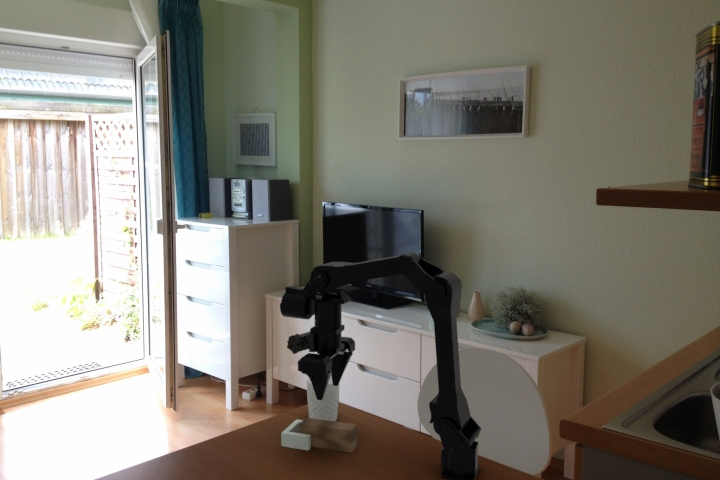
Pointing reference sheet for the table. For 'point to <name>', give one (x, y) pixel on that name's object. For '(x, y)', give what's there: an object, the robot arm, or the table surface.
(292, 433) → the bracket
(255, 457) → the table surface
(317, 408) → the white cup
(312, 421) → the brown wooden block
